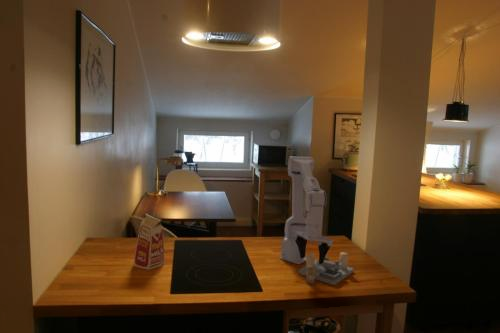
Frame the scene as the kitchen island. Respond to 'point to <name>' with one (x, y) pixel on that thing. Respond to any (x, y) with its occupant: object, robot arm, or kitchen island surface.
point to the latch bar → (329, 264)
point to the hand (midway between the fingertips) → (311, 260)
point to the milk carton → (149, 244)
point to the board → (328, 269)
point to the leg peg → (310, 274)
